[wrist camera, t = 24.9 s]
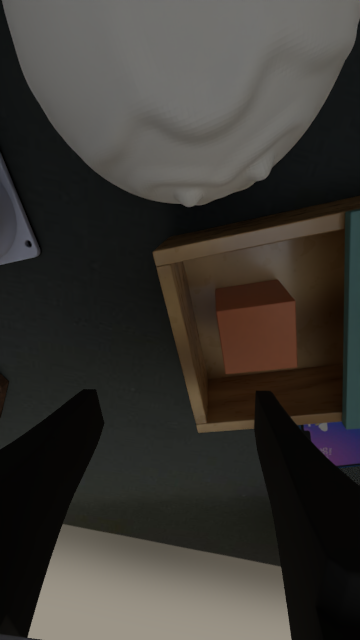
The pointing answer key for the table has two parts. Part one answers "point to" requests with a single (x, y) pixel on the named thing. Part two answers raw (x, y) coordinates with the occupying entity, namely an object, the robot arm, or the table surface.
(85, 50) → the decorative ball
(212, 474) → the table surface
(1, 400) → the robot figurine
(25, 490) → the robot arm
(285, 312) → the block
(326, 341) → the box
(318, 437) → the smartphone
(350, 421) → the lid
